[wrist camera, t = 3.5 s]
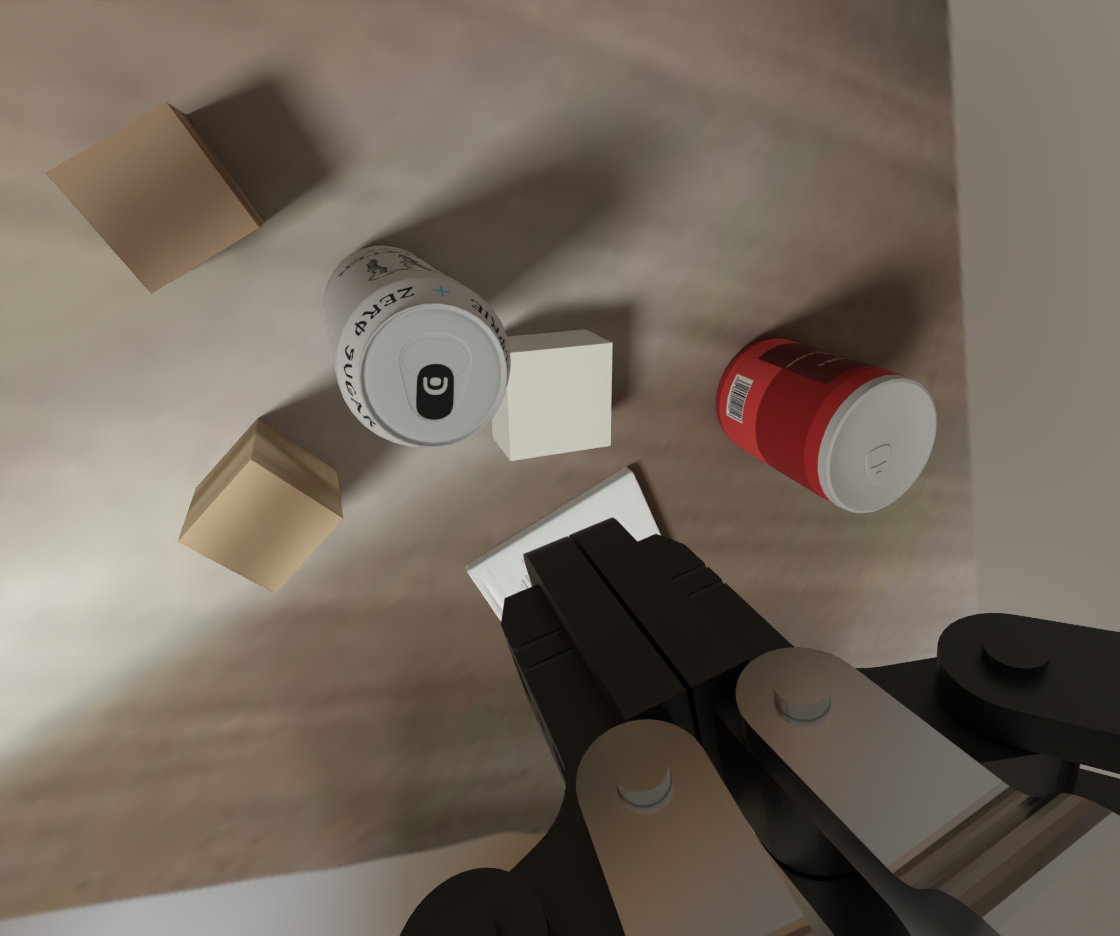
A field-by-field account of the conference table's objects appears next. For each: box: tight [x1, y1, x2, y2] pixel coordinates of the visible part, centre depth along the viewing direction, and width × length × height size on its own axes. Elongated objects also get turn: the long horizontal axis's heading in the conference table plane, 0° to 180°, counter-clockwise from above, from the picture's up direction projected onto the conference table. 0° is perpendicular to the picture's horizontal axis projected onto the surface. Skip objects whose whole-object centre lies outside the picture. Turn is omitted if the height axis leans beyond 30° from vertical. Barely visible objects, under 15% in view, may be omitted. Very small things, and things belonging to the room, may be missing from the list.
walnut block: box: [46, 102, 264, 294], centre depth 27 cm, size 5×5×5 cm
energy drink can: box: [324, 246, 511, 448], centre depth 27 cm, size 6×6×15 cm
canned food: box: [716, 338, 937, 513], centre depth 40 cm, size 8×8×11 cm
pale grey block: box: [492, 329, 612, 461], centre depth 37 cm, size 6×6×4 cm
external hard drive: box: [465, 467, 661, 621], centre depth 44 cm, size 2×8×12 cm
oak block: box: [178, 418, 343, 594], centre depth 33 cm, size 5×5×6 cm
